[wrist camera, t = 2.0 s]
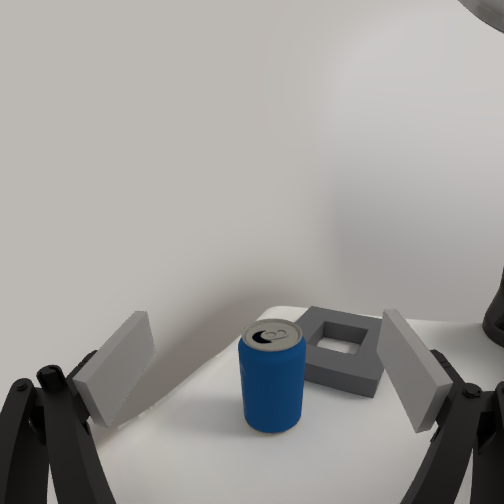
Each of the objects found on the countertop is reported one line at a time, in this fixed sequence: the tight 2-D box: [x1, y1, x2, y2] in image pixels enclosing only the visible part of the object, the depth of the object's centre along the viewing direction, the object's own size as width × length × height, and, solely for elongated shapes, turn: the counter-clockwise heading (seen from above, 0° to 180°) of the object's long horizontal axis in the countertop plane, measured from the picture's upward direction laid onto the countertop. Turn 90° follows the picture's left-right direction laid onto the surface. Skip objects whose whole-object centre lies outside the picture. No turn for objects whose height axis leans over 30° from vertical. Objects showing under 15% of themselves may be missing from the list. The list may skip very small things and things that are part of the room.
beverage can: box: [238, 319, 306, 433], centre depth 27 cm, size 6×6×12 cm
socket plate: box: [295, 306, 384, 398], centre depth 40 cm, size 16×16×3 cm
